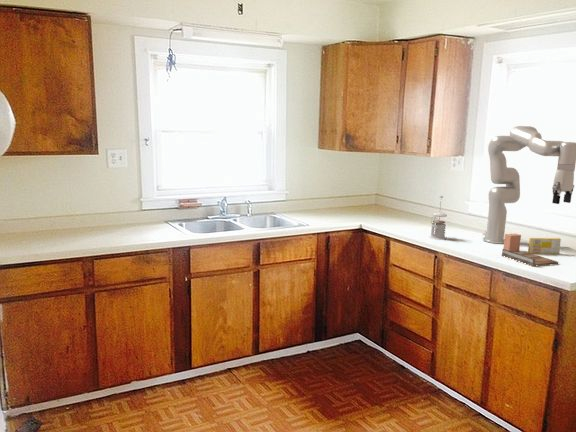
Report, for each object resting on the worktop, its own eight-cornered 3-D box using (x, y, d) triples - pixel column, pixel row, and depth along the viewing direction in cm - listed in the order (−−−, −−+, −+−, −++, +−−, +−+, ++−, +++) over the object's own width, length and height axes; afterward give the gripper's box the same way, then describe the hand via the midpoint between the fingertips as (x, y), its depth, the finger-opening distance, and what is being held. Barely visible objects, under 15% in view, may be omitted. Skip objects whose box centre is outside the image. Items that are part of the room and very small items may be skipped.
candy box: (557, 253, 267) (559, 238, 265) (559, 254, 265) (561, 239, 263) (527, 252, 266) (529, 237, 264) (529, 253, 264) (531, 238, 262)
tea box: (503, 250, 268) (504, 234, 267) (513, 249, 271) (515, 233, 269) (508, 252, 265) (510, 235, 263) (519, 251, 267) (521, 235, 266)
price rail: (502, 253, 257) (502, 248, 256) (503, 253, 257) (503, 248, 257) (533, 264, 238) (533, 259, 238) (534, 263, 239) (535, 259, 238)
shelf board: (501, 255, 257) (501, 253, 257) (525, 253, 262) (526, 251, 262) (532, 266, 238) (533, 264, 238) (558, 264, 244) (558, 261, 244)
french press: (434, 240, 288) (438, 196, 284) (424, 235, 299) (427, 193, 295) (449, 239, 291) (453, 196, 286) (438, 235, 302) (442, 193, 297)
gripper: (568, 166, 250) (563, 200, 253) (548, 167, 241) (543, 202, 244) (583, 168, 244) (578, 203, 247) (563, 169, 235) (559, 205, 238)
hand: (561, 202), depth 246 cm, fingers open, 9 cm apart
